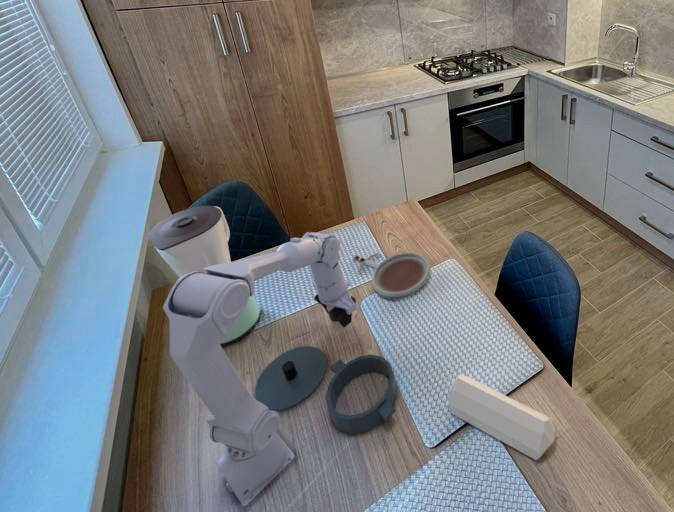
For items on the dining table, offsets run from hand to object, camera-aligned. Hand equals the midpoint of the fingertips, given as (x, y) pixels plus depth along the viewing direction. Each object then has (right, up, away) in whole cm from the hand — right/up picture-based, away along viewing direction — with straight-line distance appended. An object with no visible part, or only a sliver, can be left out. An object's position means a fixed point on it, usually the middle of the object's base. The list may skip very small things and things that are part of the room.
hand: (340, 319), depth 98 cm
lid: (-9, -11, -5) cm, 15 cm away
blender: (-32, -6, +9) cm, 33 cm away
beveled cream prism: (+39, -15, -14) cm, 44 cm away
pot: (+9, -13, -10) cm, 19 cm away
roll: (0, -2, +1) cm, 2 cm away
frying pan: (+4, +3, +24) cm, 25 cm away
